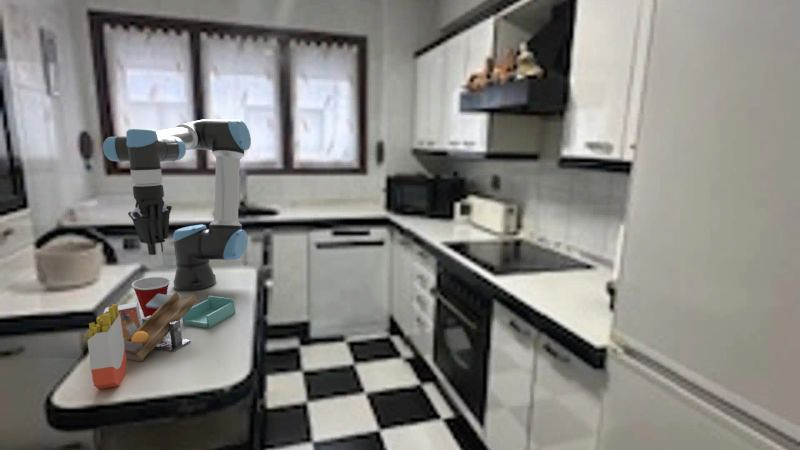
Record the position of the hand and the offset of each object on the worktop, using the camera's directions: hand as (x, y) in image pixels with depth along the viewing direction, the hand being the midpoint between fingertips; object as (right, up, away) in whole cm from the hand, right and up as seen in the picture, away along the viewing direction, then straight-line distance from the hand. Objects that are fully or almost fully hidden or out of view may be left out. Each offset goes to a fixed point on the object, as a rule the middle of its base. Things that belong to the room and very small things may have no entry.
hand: (157, 264), depth 128 cm
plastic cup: (-8, -18, +13) cm, 24 cm away
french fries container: (+3, -26, -25) cm, 36 cm away
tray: (+11, -18, +11) cm, 24 cm away
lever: (+1, -17, -5) cm, 18 cm away
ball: (+3, -18, -13) cm, 23 cm away
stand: (+5, -22, -6) cm, 23 cm away
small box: (-5, -22, -5) cm, 23 cm away
